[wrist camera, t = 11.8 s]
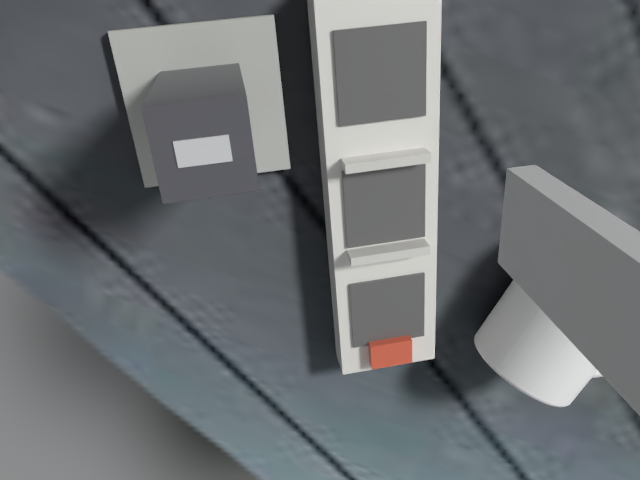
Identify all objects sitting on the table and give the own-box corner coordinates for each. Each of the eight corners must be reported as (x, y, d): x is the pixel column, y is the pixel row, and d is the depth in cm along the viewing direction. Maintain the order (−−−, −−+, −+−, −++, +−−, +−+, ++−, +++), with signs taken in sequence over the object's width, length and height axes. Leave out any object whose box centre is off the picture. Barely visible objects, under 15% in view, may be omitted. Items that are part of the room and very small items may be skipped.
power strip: (289, -211, 27) (299, -236, 24) (427, -218, 28) (456, -243, 24) (336, 353, 42) (346, 385, 39) (423, 338, 43) (440, 368, 40)
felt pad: (109, 30, 30) (107, 31, 30) (273, 14, 31) (273, 15, 31) (145, 184, 34) (144, 187, 34) (289, 165, 35) (290, 168, 35)
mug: (456, 322, 43) (503, 391, 36) (529, 215, 40) (596, 267, 33) (568, 363, 47) (630, 433, 40) (642, 268, 44) (724, 325, 37)
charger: (160, 71, 31) (140, 107, 23) (238, 63, 31) (246, 95, 23) (175, 147, 33) (162, 204, 25) (249, 138, 33) (259, 191, 25)
